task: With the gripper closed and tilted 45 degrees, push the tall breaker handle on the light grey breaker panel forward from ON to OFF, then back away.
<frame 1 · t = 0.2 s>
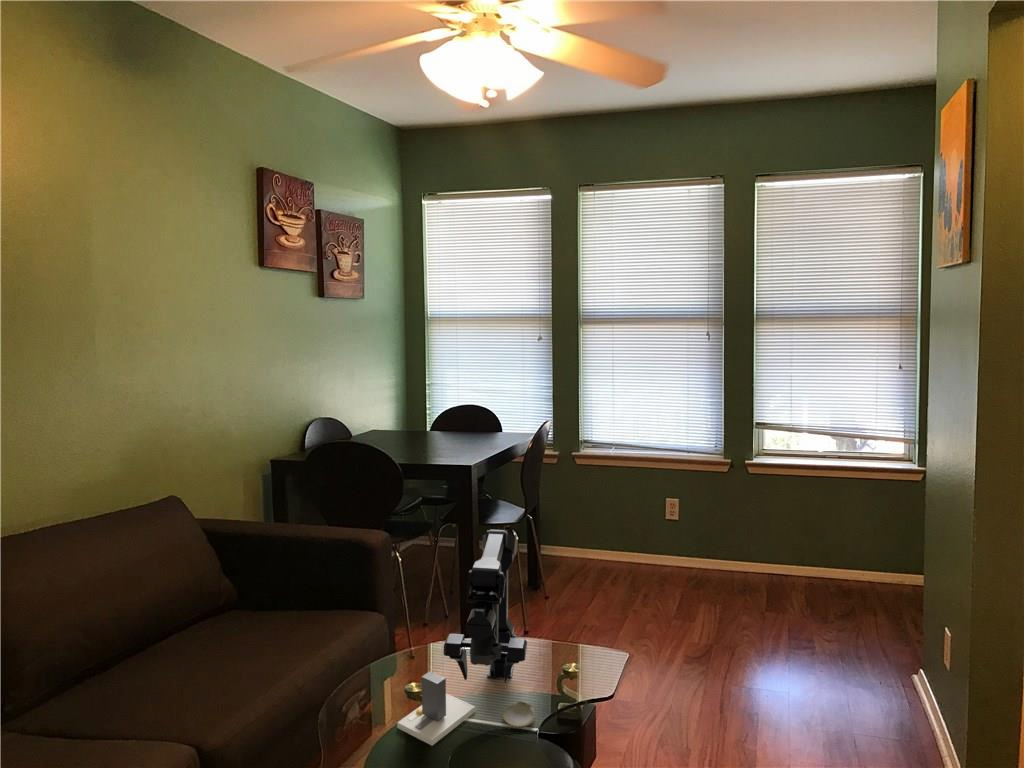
hand: (485, 680, 188), 15 cm above the table, fingers open, 9 cm apart
seashell: (519, 720, 198), on the table
breaker panel: (436, 719, 198), on the table
breaker handle: (433, 696, 195), point 7 cm above the table, slide at 0.0 cm
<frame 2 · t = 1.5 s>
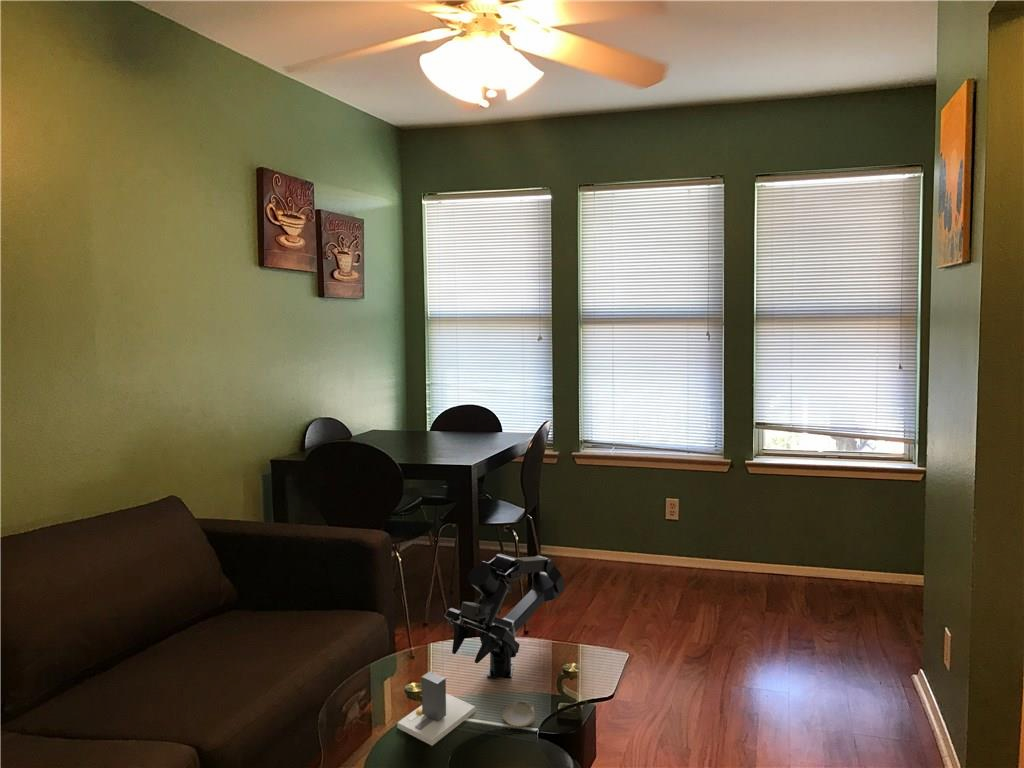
hand: (464, 658, 203), 11 cm above the table, fingers open, 7 cm apart
nothing on the table moved.
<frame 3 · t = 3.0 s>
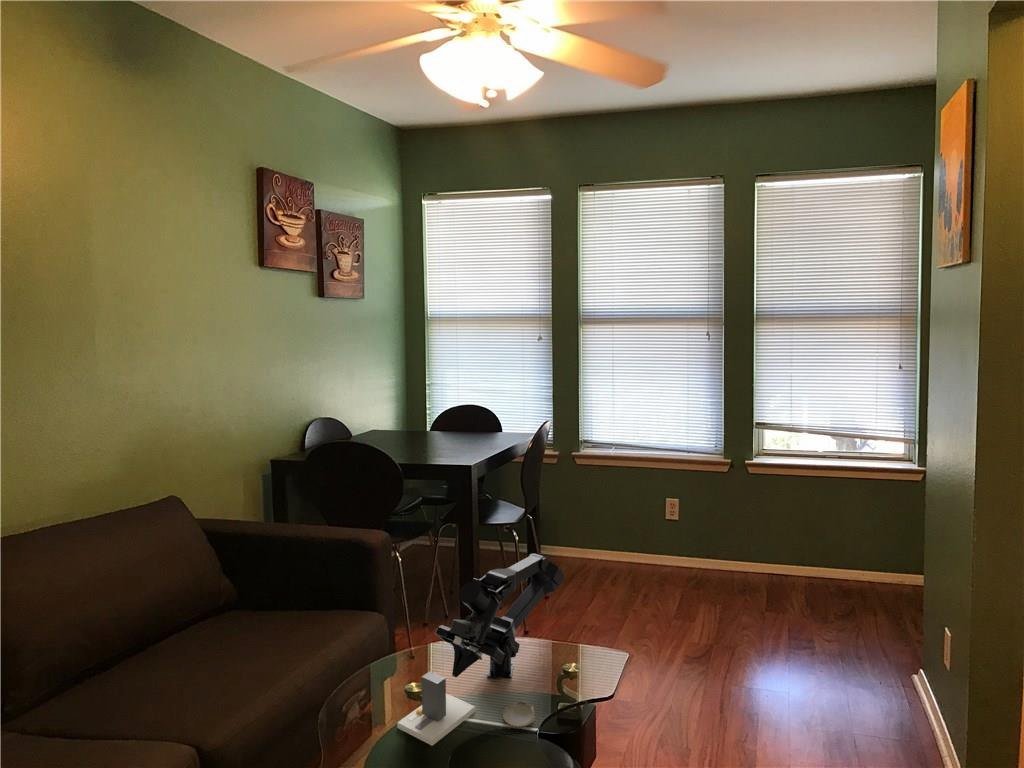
hand: (454, 676, 201), 8 cm above the table, fingers closed
nothing on the table moved.
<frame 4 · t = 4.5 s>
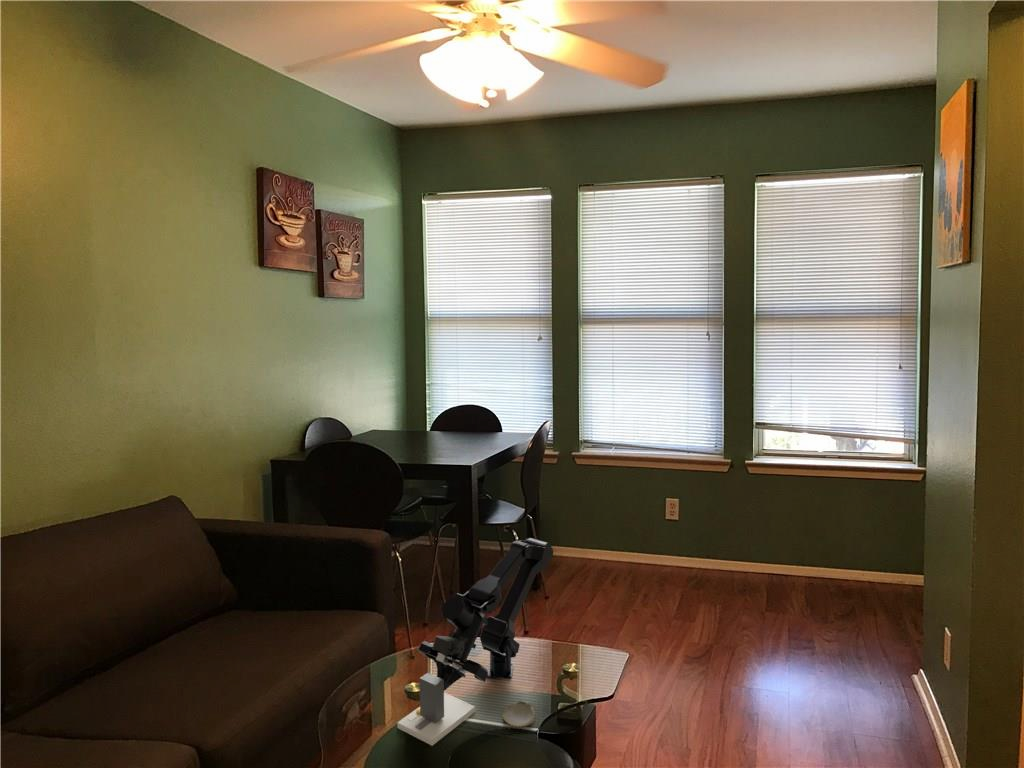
hand: (436, 694, 196), 7 cm above the table, fingers closed, pressing on breaker handle
breaker handle: (431, 697, 195), point 7 cm above the table, slide at 0.7 cm, touching gripper
everything else where it was.
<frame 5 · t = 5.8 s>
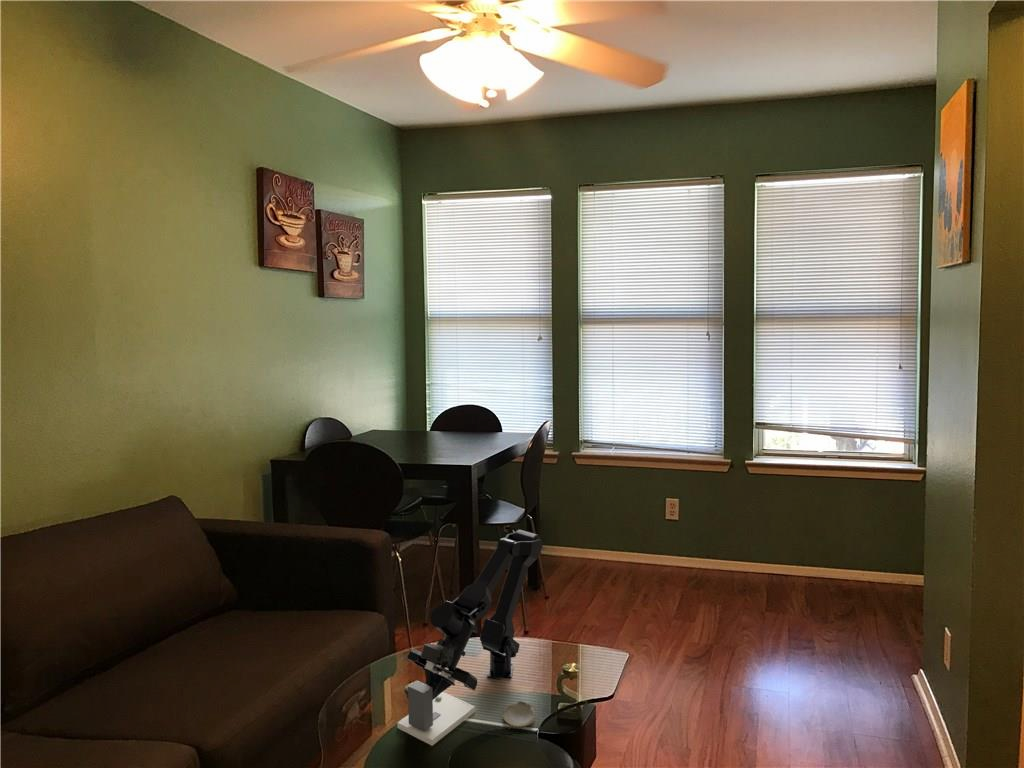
hand: (425, 703, 193), 7 cm above the table, fingers closed, pressing on breaker handle
breaker handle: (420, 705, 191), point 7 cm above the table, slide at 4.8 cm, touching gripper
everything else where it was.
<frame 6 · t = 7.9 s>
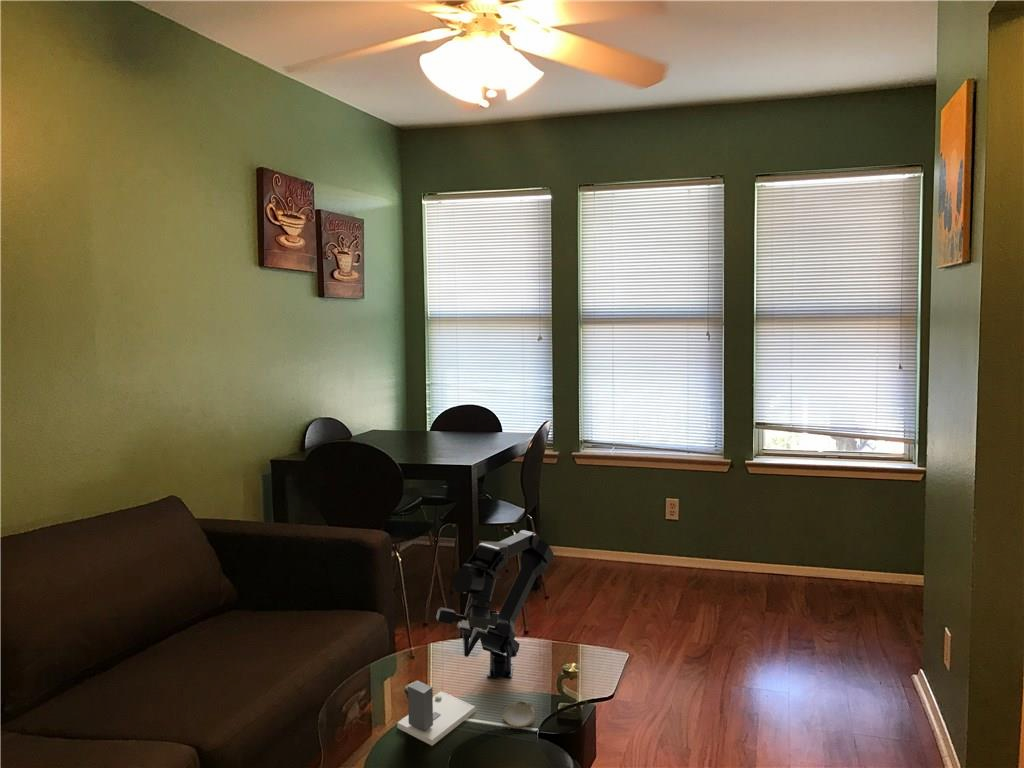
hand: (465, 656, 203), 12 cm above the table, fingers closed
breaker handle: (420, 705, 191), point 7 cm above the table, slide at 4.8 cm
everything else where it was.
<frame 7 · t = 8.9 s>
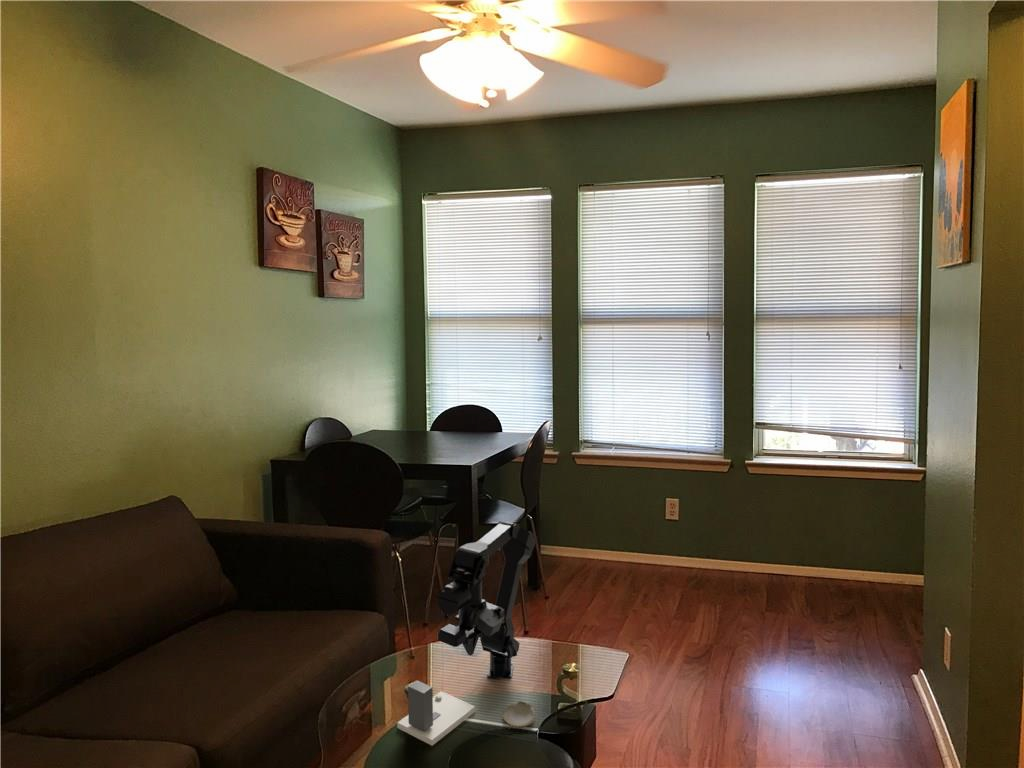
hand: (470, 654, 202), 13 cm above the table, fingers closed
nothing on the table moved.
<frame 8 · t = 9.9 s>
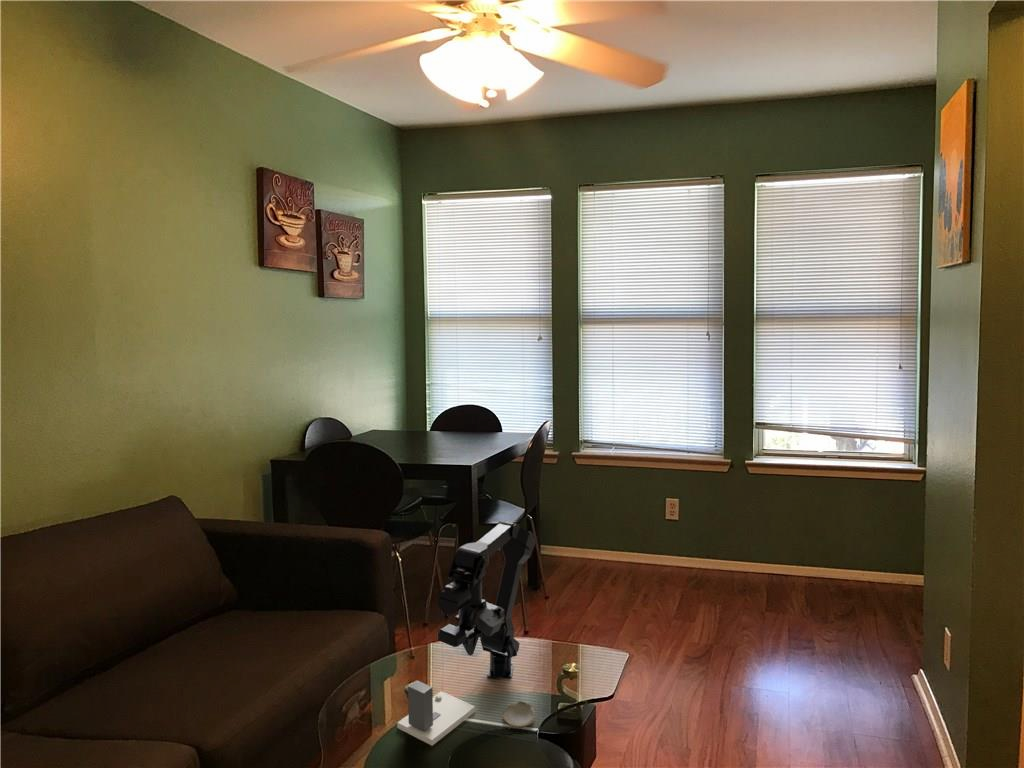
hand: (470, 654, 202), 13 cm above the table, fingers closed
nothing on the table moved.
at the end: breaker handle slide at 4.8 cm; seashell moved 0.5 cm from its start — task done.
